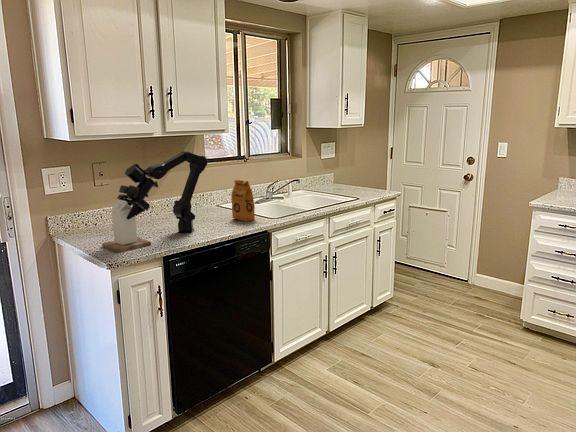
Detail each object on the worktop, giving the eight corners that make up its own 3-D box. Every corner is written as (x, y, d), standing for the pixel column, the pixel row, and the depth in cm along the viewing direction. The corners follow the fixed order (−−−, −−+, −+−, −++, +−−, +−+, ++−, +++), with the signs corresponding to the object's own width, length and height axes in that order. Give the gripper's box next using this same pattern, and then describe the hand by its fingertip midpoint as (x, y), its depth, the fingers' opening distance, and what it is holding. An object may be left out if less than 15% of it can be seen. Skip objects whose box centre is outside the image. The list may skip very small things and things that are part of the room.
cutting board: (136, 239, 203) (136, 236, 203) (151, 245, 194) (150, 241, 193) (102, 246, 192) (101, 243, 192) (115, 252, 183) (115, 249, 182)
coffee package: (243, 222, 233) (241, 182, 228) (230, 219, 242) (228, 180, 237) (257, 220, 239) (256, 180, 234) (244, 216, 248) (243, 178, 243)
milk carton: (129, 239, 198) (125, 198, 194) (137, 241, 193) (133, 200, 189) (114, 242, 193) (110, 200, 188) (122, 245, 188) (118, 202, 184)
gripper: (119, 176, 196) (97, 204, 190) (140, 179, 184) (118, 209, 178) (136, 191, 203) (116, 218, 198) (158, 195, 191) (138, 224, 185)
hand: (121, 217), depth 189 cm, fingers open, 9 cm apart
